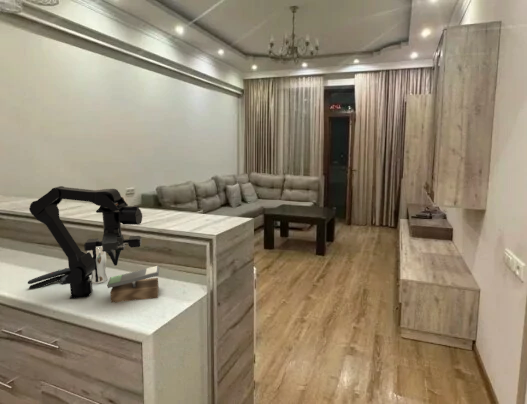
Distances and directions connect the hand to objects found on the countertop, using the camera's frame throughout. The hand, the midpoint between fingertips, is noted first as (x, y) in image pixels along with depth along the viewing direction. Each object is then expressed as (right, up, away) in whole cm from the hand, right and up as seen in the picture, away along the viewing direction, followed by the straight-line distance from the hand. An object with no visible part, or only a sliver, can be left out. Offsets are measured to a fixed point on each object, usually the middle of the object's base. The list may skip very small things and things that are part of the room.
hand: (115, 265), depth 131 cm
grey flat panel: (+6, -5, +2) cm, 8 cm away
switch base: (+6, -12, +3) cm, 14 cm away
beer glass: (-13, -9, +16) cm, 23 cm away
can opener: (-30, -10, +13) cm, 34 cm away
